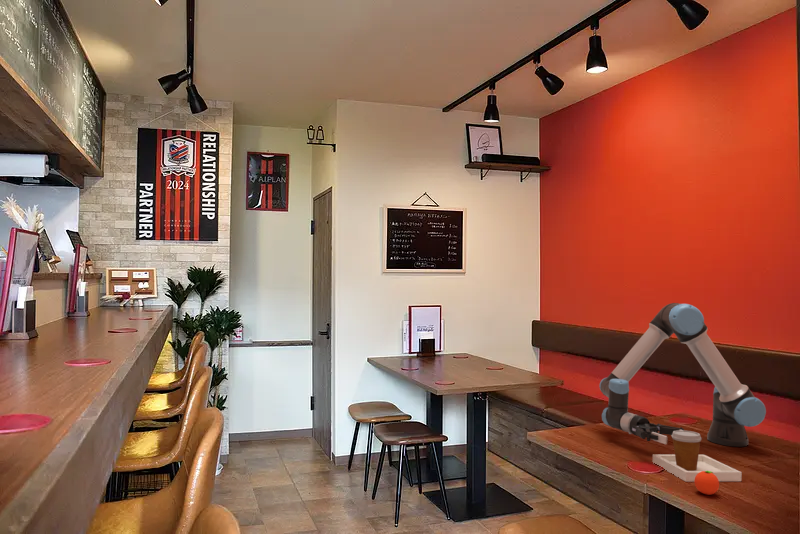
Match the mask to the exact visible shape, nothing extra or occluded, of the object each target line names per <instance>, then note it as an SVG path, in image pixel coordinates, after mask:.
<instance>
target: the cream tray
mask: <svg viewBox="0 0 800 534" xmlns="http://www.w3.org/2000/svg"><path fill="white" fill-rule="evenodd" d="M651 462H653V463H652V464H654V463H655V464H657V465H659V466H661V467H663V468H664V469H665V470H664V469H663V470H664V471H666V470H667V471H666V472H668V473H670V474H671V473H672V474H671V475H673V474H674V477H676V478H678V477H679V478H678V479H680V480H682V481H684V482H687V483H689V482H690V483H691V482H692V483H695V477H696V475H697V474H698V473H700V472H702V471H711V472H713V474H714V475H715V476H716V477H717V478H718V480H719V482H742V471H740V470H737V469H736V468H734V467H732V466H729V465H727V464H724V463H723V462H721V461H718V460H716V459H714V458H712V457H710V456H708V455H706V454H699V455H698V462H697V470H694V471H687V470H685V469H683V468H681V467H679V466H677V465H676V458H675V454H652V461H651ZM655 464H654V465H655ZM657 465H656V466H657ZM659 466H658V467H659ZM661 467H660V468H661Z"/></svg>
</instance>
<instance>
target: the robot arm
mask: <svg viewBox="0 0 800 534" xmlns="http://www.w3.org/2000/svg"><path fill="white" fill-rule="evenodd" d="M648 325H649V326H648V329H647V330H646V331H645V332H644V333H643V334H642V335H641V337H640V338H639V339H638V340H637V341H636V343H635V344H634V345H633V346H632V347H631V349H630V350H629V351H628V353H626V355H625V356H624V357H623V358H622V359H621V361H620V362H619V363H618V364H617V365H616V367H615V368H614V369H613V370H612V371H611V372H610V374H609V375H608V376H607V377H603V378H602V379H601V381H600V382H599V390H600V392H601V393H602V394H603V396H605V397H607V398H608V400H607V401H608V405H607V407H605V408H604V409H603V410H602V413H601V421H602V422H603V424H604V425H606V426H609V427H610V428H611V429H612V428H613V429H616V430H620V431H623V432H626V433H628V435H634V436H637V437H639V438H641V439H643V440H646V441H647V442H651V441H654V442H658V443H660V444H664V445H668V436H667V435H669V436H671V435H672V434H673V431H678V430H684V431H685V428H683V427H681V426H680V427H676V426H670V425H665V424H661V423H657V424H655V422H653V423H652V422H650V421H649V419H648V418H647V417H645V416H641V415H638V414H636V413H635V414H634V413H633V412H629V398H630V397H629V392H630V383H629V382H630V381H631V380H632V378H633V377H635V375H636V373H637V372H638V371H639V370H640V369H641V368H642V366H643V365H645V363H646V361H648V360H649V358H650V357H651V356H652V354H654V352H655V351H657V349H658V348H659V347H660V345H661V344H662V343H663V342H664V341H665V340H666V339H667V340H669V338H671V336H672V335H673V334H674V336H676V338H677V340H678V341H679V342H680V343H681V344H686V346H687V347H688V349H689V350H690V352H691V354H692V355H693V356H694V358H695V359H696V360H697V362H698V364H699V365H700V366H701V368H702V369H703V371H704V372H705V374H706V375H707V377H708V378H709V380H710V381H711V383H712V384H713V385H714V388H713V393H712V422H711V425H710V427H709V429H708V432H707V437H706V438H707V439H706V440H707V441H709V442H711V443H713V444H717V445H722V446H726V447H727V446H728V447H738V448H739V447H740V448H743V447H748V446H749V437H748V433H747V431H746V428H745V427H748V428H749V427H750V428H752V427H756V426H758V425H760V424H761V423H762V422H763V421H764V420H765V417H766V414H767V409H766V405H765V404H764V402H763V401H762V400H761V399H759V398H758V397H755V395H754V394H753V392H752V391H751V389H750V388H749V386H748V385H746V384H742V383H741V382H740V380H739V379H738V377H737V376H736V375H735V373H734V371H733V370H732V368H731V367H730V365H729V364H728V363H727V361H726V359H724V357H723V355H722V354H721V352H720V351H719V350H718V348H717V347H716V345H715V344H714V342H713V341H712V339H711V338H710V336H709V335H708V333H707V332H708V330H709V329H708V326H707V324H706V323H705V316H704V314H703V313H702V312H701V311H700V309H699V308H697V307H696V306H694V305H692V304H689V303H679V302H672V303H668V304H666V305H664V306H662V308H661V309H660V310H659V311H658V312H657V313H656V315H655V316H654V317H653V319H652V320H650V322H649V323H648ZM747 445H748V446H747Z"/></svg>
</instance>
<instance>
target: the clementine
mask: <svg viewBox="0 0 800 534" xmlns="http://www.w3.org/2000/svg"><path fill="white" fill-rule="evenodd" d="M694 486H695V488H696V489H697V491H698V492H699V493H701V494H703V495H707V496H711V495H714V494H715V493H717V492H718V490H719V488H720V481H719V480H718V478H717V477H716V476H715V475H714V474H713V472H711V471H702V472H700V473H698V474H697V475H696V477H695V482H694Z"/></svg>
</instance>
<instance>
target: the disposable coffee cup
mask: <svg viewBox="0 0 800 534" xmlns="http://www.w3.org/2000/svg"><path fill="white" fill-rule="evenodd" d="M670 436H671V438H672V444H673V450H674V455H675V458H676V465H677V466H679V467H681V468H683V469H685V470H687V471H694V470H697V462H698V455H700V454H699V453H700V445H701V441H702V437H701V434H700V433H699V432H696V431H691V430H685V429H684V430H678V431H673V434H672V435H670Z"/></svg>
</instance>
